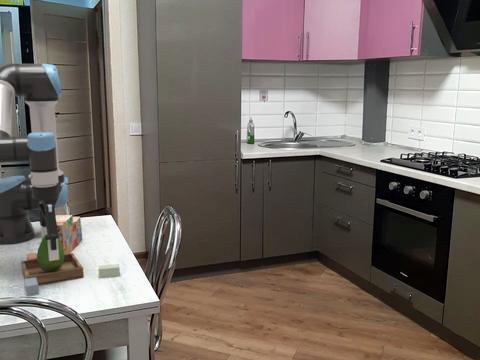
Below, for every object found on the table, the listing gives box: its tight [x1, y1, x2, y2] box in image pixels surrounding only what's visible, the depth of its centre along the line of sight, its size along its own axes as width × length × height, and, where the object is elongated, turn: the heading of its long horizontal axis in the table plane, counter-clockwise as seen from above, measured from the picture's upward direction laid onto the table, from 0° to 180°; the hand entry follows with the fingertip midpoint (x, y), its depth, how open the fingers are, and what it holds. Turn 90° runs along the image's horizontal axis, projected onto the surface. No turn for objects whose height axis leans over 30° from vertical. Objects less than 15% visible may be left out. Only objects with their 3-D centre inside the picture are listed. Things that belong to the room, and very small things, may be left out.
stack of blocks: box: [55, 214, 83, 254], centre depth 173 cm, size 21×6×12 cm, turn 2°
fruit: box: [36, 234, 64, 273], centre depth 150 cm, size 8×8×12 cm
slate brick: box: [24, 277, 40, 297], centre depth 138 cm, size 6×3×3 cm, turn 27°
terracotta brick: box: [25, 252, 37, 260], centre depth 159 cm, size 6×3×3 cm, turn 29°
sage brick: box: [98, 263, 121, 279], centre depth 149 cm, size 6×3×3 cm, turn 104°
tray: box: [20, 252, 85, 287], centre depth 151 cm, size 16×16×3 cm
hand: (50, 253), depth 150 cm, fingers open, 13 cm apart
